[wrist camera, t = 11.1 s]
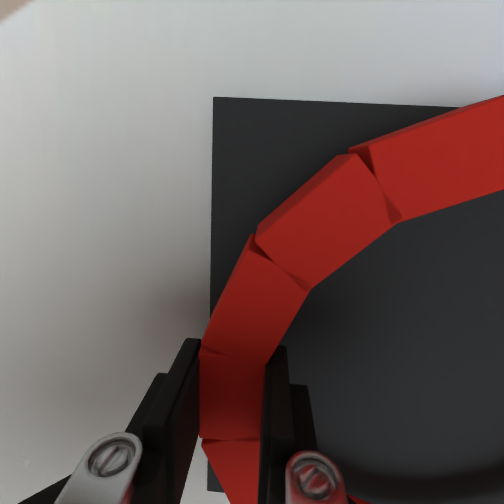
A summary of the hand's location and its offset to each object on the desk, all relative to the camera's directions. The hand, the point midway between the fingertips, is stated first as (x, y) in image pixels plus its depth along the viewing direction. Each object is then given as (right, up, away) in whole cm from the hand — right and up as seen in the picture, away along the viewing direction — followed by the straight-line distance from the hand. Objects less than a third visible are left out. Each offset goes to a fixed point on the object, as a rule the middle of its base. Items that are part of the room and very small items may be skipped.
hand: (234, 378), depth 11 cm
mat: (+9, 0, +3) cm, 9 cm away
